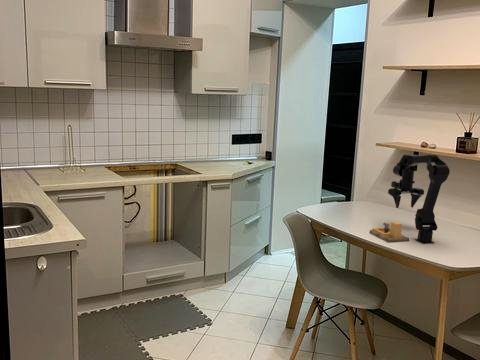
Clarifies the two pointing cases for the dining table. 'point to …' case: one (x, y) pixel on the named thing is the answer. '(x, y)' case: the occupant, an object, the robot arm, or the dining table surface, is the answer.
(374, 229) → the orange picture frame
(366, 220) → the dining table surface
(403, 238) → the hook plate
